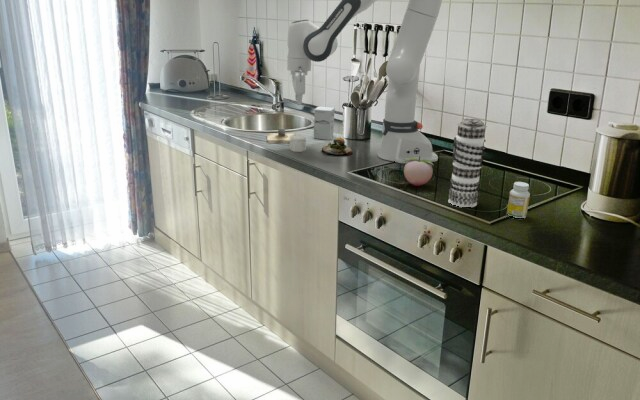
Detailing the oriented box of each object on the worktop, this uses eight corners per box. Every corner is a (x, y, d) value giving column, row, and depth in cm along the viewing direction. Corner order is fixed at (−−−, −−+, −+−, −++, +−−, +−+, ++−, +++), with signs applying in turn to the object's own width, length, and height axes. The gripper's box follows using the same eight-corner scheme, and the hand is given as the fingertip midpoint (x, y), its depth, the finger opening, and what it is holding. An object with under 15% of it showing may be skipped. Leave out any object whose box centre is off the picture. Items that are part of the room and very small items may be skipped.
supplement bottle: (515, 220, 156) (520, 187, 152) (502, 213, 160) (507, 182, 157) (530, 218, 158) (535, 185, 154) (517, 211, 162) (522, 180, 159)
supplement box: (313, 138, 237) (313, 109, 233) (317, 134, 244) (318, 105, 239) (330, 140, 235) (331, 110, 231) (333, 136, 242) (335, 107, 238)
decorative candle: (446, 196, 173) (454, 116, 164) (476, 198, 172) (487, 118, 163) (447, 206, 165) (456, 122, 156) (479, 209, 163) (491, 124, 155)
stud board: (295, 136, 240) (295, 126, 239) (296, 143, 229) (296, 133, 228) (267, 136, 239) (267, 126, 238) (267, 143, 228) (267, 133, 227)
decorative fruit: (402, 189, 178) (404, 159, 174) (402, 181, 186) (404, 152, 182) (432, 191, 177) (435, 161, 173) (431, 183, 184) (434, 154, 181)
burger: (315, 151, 219) (316, 133, 216) (339, 147, 225) (339, 129, 223) (335, 159, 210) (335, 139, 207) (358, 154, 217) (359, 135, 214)
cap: (305, 147, 223) (305, 135, 221) (306, 151, 217) (306, 139, 216) (290, 147, 222) (290, 135, 221) (290, 151, 217) (290, 139, 215)
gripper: (309, 69, 199) (308, 108, 204) (305, 62, 218) (305, 97, 223) (291, 68, 199) (291, 107, 203) (289, 62, 218) (289, 97, 223)
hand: (298, 102), depth 213 cm, fingers open, 8 cm apart
